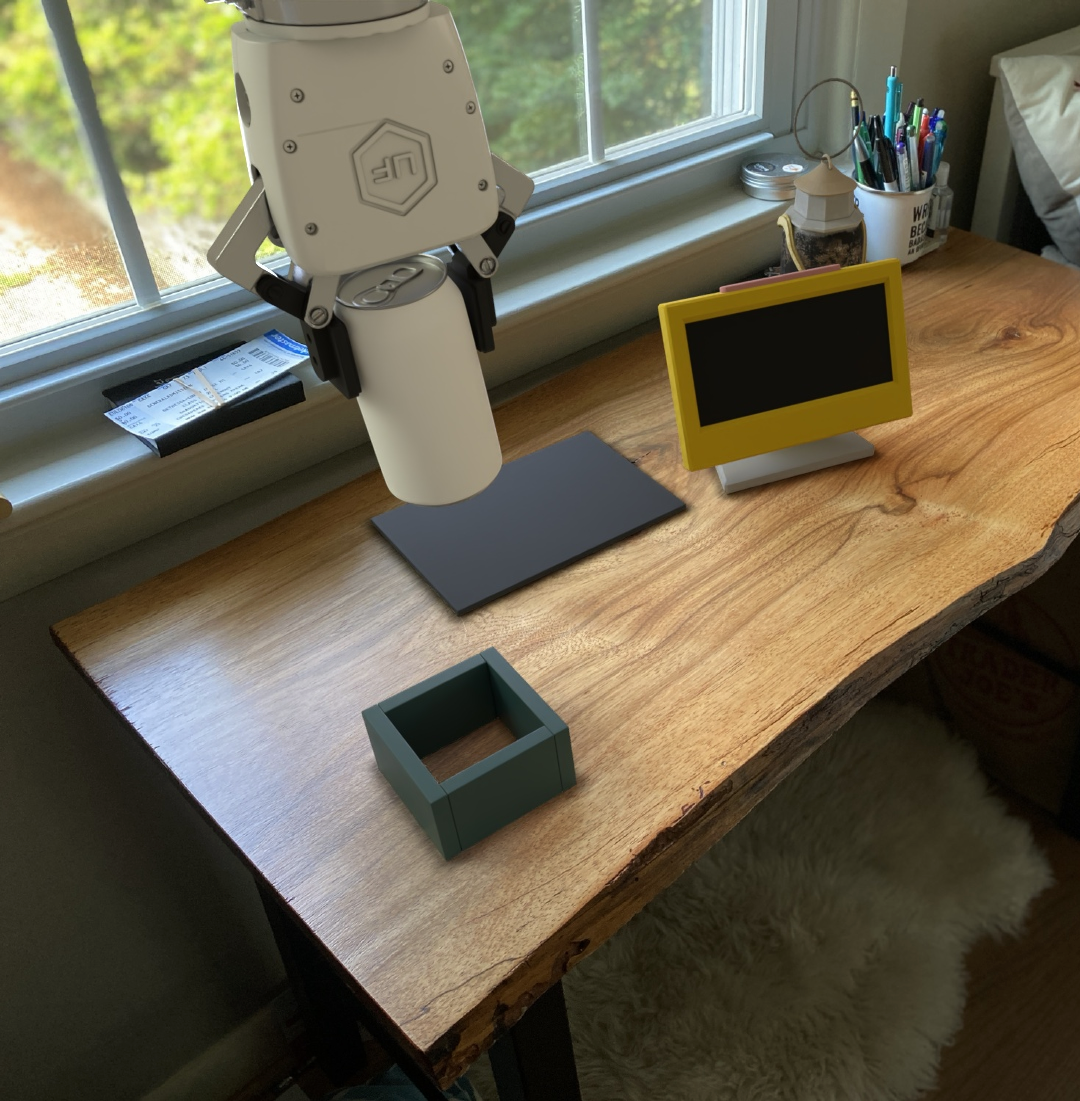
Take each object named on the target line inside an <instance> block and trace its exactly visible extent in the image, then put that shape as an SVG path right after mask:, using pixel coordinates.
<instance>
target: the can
mask: <svg viewBox="0 0 1080 1101" xmlns="http://www.w3.org/2000/svg"><path fill="white" fill-rule="evenodd" d="M333 310H334V314H335V316H337V317H338V318H339V319H340V320H341V321H342V322H343V323H344V324H345V325H346V328H347V331H348V335H349V339H350V343H351V347H352V351H353V355H354V360H355V364H356V368H357V372H358V376H359V380H360V384H361V389H362V392H361V393H359V396H358V397H355V398H356V400H357V403H358V406H359V409H360V412H361V415H362V419H363V421H364V424H365V427H366V429H367V433H368V435H369V439H370V441H371V445H372V447H373V450H374V454H375V456H376V459H377V462H378V464H379V468H380V469H381V473H382V476H383V479H384V481H385V484H386V486H387V488H388V490H389V492H390V493H391V494H392V496H394V497H396V498H397V499H399V500H400V501H403V502H404V503H406V504H408V503H409V504H412V505H417V506H423V507H443V506H449V505H454V504H457V503H461V502H463V501H466V500H468V499H471V498H473V497H475V496H476V495H478V494H480V493H481V492H482V491H484V490H485V489H486V488H487V487H488V486H489V485H490V484H491V483H492V482H493V481H494V479H495V478H496V476H497V474H498V473H499V471H500V469H501V466H502V465H503V455H502V450H501V446H500V445H501V444H500V440H499V437H498V433H497V429H496V424H495V420H494V416H493V412H492V408H491V403H490V400H489V395H488V391H487V387H486V383H485V379H484V375H483V371H482V366H481V363H480V358H479V355H478V354H479V353H478V350H477V349H476V346H475V342H474V338H473V334H472V330H471V326H470V322H469V318H468V314H467V310H466V307H465V303H464V300H463V297H462V294H461V292H460V290H459V288H458V287H457V286H456V284H455V283H454V282H453V281H452V280H451V279H450V277H449V276H448V270H447V265H446V263H445V262H444V261H443V260H442V259H440V258H439V257H437V256H435V255H431V254H428V253H425V252H424V253H421V254H417V255H413V256H410V257H406V258H403V259H399V260H396V261H392V262H388V263H385V264H381V265H378V266H374V267H370V268H367V269H363V270H359V271H355V272H351V273H347V274H343V275H341V277H340V281H339V286H338V290H337V295H336V299H335V304H334V309H333Z"/></svg>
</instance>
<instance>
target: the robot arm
mask: <svg viewBox="0 0 1080 1101" xmlns="http://www.w3.org/2000/svg"><path fill="white" fill-rule="evenodd" d="M203 1H204V3H205V4H207V5H208V4H214V3H222V2H224V4H225V5H233V6H235V8H236V10H237V11H239V12H240V13H242V17H243V20H239V21H236V22H234V23H233V24H232V25H231V26H230V44H231V45H230V46H231V60H232V61H231V62H232V71H233V82H234V90H235V98H236V106H237V114H238V121H239V126H240V133H241V139H242V145H243V150H244V155H245V160H246V165H247V170H248V176H249V179H250V184H251V186H250V187H249V189H248V190H247V192H246V193H245V195H244V197H243V198H242V200H241V201H240V202H239V204H238V205H237V207H236V209H235V210H234V211H233V213H232V214H231V216H230V218H229V219H228V220H227V221H226V223H225V225H224V226H223V228H222V230H221V231H220V232H219V234H218V235H217V236H216V238H215V240H214V241H213V242H212V244H211V245H210V247H209V249H208V250H207V253H206V261H207V262H208V264H209V265H210V266H211V267H212V268H213V269H214V270H215V271H216V272H217V273H218V274H219V275H220V276H222V277H223V278H226V279H227V280H229V281H230V282H232V283H234V284H236V285H237V286H239V287H241V288H242V289H244V290H245V291H247V292H250V293H252V294H254V296H257V297H259V298H260V299H262V300H263V301H265V302H266V303H267V304H269V305H271V306H273V307H275V308H276V309H278V310H281V311H283V312H285V313H287V314H289V315H291V317H295V318H296V319H299V323H300V327H301V330H302V334H303V337H304V342H305V346H306V349H307V354H308V356H309V361H310V363H311V367H312V369H313V371H314V373H315V375H316V376H317V378H318V379H319V381H321V383H325V382H326V383H327V382H330V383H331V385H333V387H335V389H336V390H338V391H339V393H341V394H342V395H343V396H344V397H345V398H346V399H347V400H349V401H350V400H352V399H355V398H356V397H358V396H359V393H361V392H362V389H361V384H360V380H359V376H358V372H357V368H356V364H355V360H354V355H353V351H352V347H351V343H350V339H349V335H348V331H347V328H346V325H345V324H344V323H343V322H342V321H341V320H340V319H339V318H338V317H337V316H335V314H334V310H333V309H334V304H335V299H336V295H337V290H338V286H339V281H340V277H341V275H343V274H347V273H351V272H355V271H359V270H363V269H367V268H370V267H374V266H378V265H381V264H385V263H388V262H392V261H396V260H399V259H403V258H406V257H410V256H413V255H417V254H421V253H424V254H425V253H428V252H430V251H434V250H438V249H442V248H445V247H446V248H447V250H448V251H449V252H450V254H451V255H452V257H451V261H449V262H446V263H445V265H446V267H447V270H448V276H449V277H450V279H451V280H452V281H453V282H454V283H455V284H456V286H457V287H458V288H459V290H460V292H461V294H462V297H463V300H464V303H465V307H466V310H467V314H468V318H469V322H470V326H471V330H472V334H473V338H474V342H475V346H476V350H477V352H479V353H483V354H488V353H491V352H493V351H495V350H496V345H495V344H496V343H495V339H494V332H493V327H496V326H497V322H498V320H497V313H496V306H495V305H496V304H495V299H494V293H493V286H492V280H491V278H492V277H493V276H495V274H497V272H498V269H499V265H500V264H499V260H498V258H499V257H500V256H501V253H502V252H503V251H504V249H505V247H506V245H507V244H508V242H509V241H510V239H511V237H512V236H513V234H514V232H515V230H516V226H517V225H516V220H517V219H518V218H520V217H521V215H522V213H523V211H524V210H525V208H526V206H527V204H528V202H529V200H530V199H531V197H532V195H533V194H534V191H535V189H536V188H535V187H536V186H535V185H536V184H535V182H534V179H532V178H531V177H530V176H528V175H527V174H525V173H524V172H523V171H522V170H519V169H518V168H517V167H515V166H513V164H511V163H509V162H508V161H506V160H505V159H503V158H502V157H500V156H499V155H497V154H496V153H494V152H493V151H491V149H490V145H489V139H488V135H487V131H486V126H485V122H484V118H483V114H482V109H481V104H480V102H479V101H480V100H479V97H478V94H477V91H476V87H475V83H474V80H473V77H472V73H471V69H470V66H469V63H468V59H467V55H466V53H465V50H464V47H463V43H462V40H461V36H460V34H459V31H458V29H457V26H456V23H455V21H454V17H453V15H452V13H451V10H450V8H449V6H447V5H445V4H443V3H439V2H437V1H436V2H435V1H433V0H203ZM266 238H268V240H269V242H270V243H271V244H273V246H276V247H278V248H281V249H284V250H285V252H286V254H287V256H288V257H289V259H290V263H289V267H288V268H289V269H288V274H287V277H286V276H284V275H281V274H280V273H278V272H276V271H274V270H272V269H270V268H269V267H266V266H264V265H262V264H261V263H259V262H257V260H256V254H257V252H258V250H259V249H260V248H261V247H262V244H263V243H264V242H265V240H266Z"/></svg>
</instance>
